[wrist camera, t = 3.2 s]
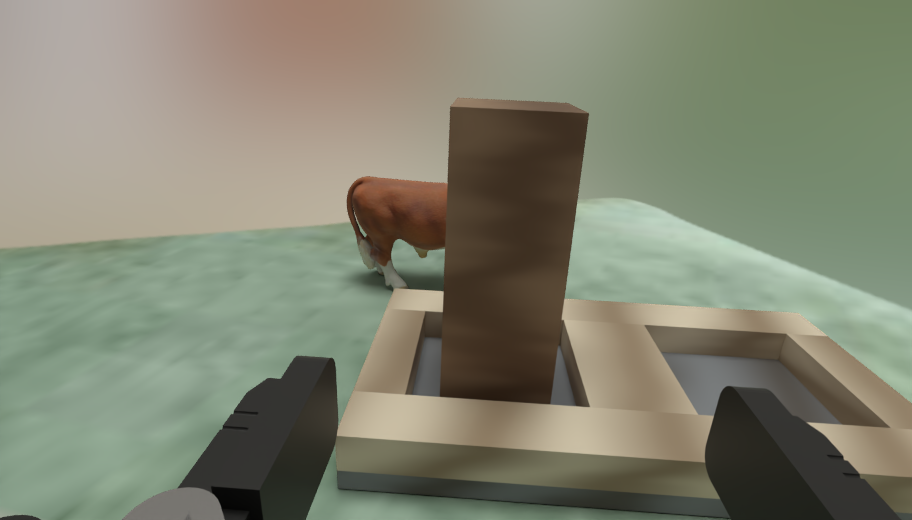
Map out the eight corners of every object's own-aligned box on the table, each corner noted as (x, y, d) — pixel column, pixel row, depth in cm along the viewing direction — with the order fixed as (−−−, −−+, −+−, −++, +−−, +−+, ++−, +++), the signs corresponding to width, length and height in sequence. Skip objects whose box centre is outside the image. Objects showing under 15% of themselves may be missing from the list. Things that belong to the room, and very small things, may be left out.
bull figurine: (543, 317, 31) (559, 185, 28) (340, 286, 34) (334, 163, 31) (549, 288, 35) (563, 170, 32) (366, 263, 38) (364, 152, 35)
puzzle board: (337, 488, 18) (334, 435, 17) (394, 324, 29) (394, 288, 28) (983, 537, 17) (1013, 484, 16) (787, 350, 28) (798, 313, 27)
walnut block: (439, 409, 21) (450, 106, 17) (446, 351, 25) (457, 97, 21) (548, 416, 21) (589, 113, 16) (538, 357, 25) (568, 102, 21)
